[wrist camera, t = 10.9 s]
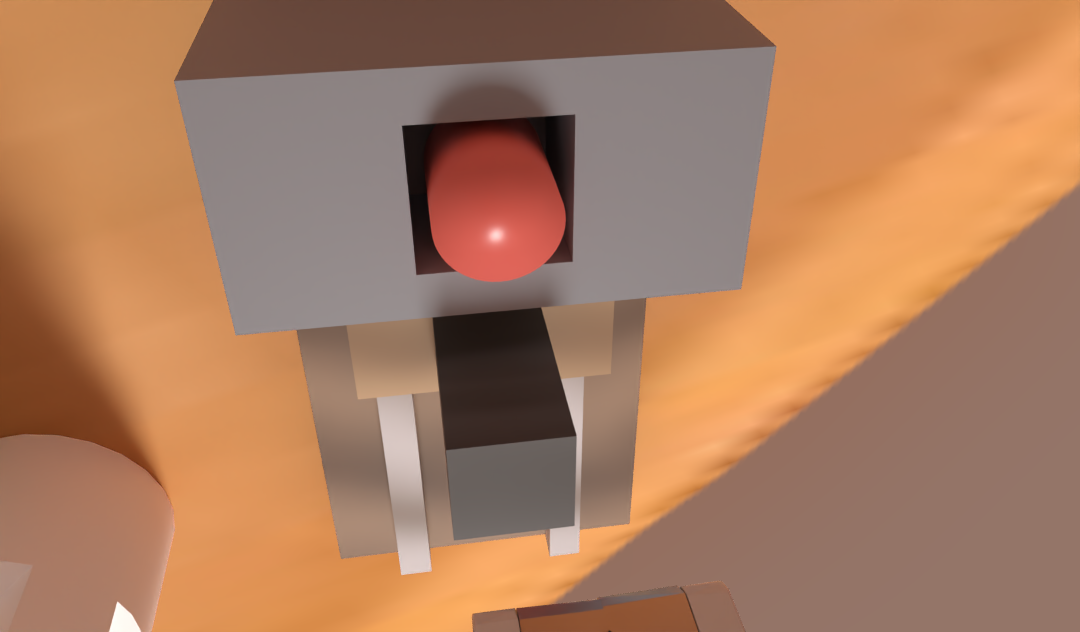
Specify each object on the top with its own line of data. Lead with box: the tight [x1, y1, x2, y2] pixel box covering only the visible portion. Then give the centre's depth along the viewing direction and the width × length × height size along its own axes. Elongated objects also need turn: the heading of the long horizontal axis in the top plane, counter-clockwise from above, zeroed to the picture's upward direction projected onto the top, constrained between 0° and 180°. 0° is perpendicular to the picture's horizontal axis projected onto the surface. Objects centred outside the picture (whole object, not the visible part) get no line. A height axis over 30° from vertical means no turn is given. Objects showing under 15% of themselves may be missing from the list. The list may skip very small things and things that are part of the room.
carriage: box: [346, 301, 614, 541], centre depth 25 cm, size 5×8×9 cm, turn 90°
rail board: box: [297, 298, 646, 575], centre depth 31 cm, size 23×12×3 cm, turn 0°
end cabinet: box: [174, 0, 776, 335], centre depth 24 cm, size 6×12×10 cm, turn 90°
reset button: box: [424, 118, 566, 282], centre depth 20 cm, size 3×3×3 cm
